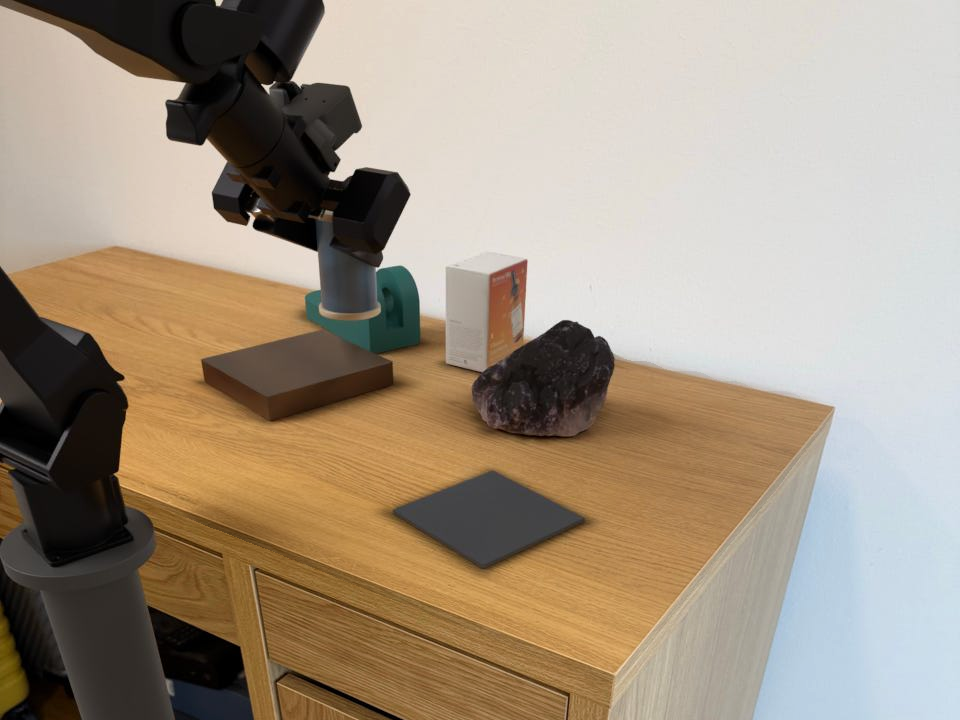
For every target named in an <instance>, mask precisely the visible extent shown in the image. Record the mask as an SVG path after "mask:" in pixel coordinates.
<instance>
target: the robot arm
mask: <svg viewBox="0 0 960 720" xmlns="http://www.w3.org/2000/svg"><path fill="white" fill-rule="evenodd" d="M0 7H3V8H6V9H8V10H11V11H13V12H16V13H19V14H22V15H24V16H27V17H30V18H33V19H35V20H38V21H41V22H44V23H46V24H49V25H52V26H55V27H57V28H60V29H63V30H64V31H66V32H67V33H70V34H71V35H72V36H74V37H76V38H78V39H79V40H81V42H83V43H84V44H85V45H86V46H87V47H88V48H89V49H90V50H92V51H93V52H94V53H95V54H96V55H98V56H100V57H101V58H103V59H105V60H107V61H108V62H110V63H112V64H114V65H115V66H117V67H118V68H121V69H122V70H123V71H126V72H127V73H128V74H131V75H133V76H135V77H138V78H146V79H151V80H152V79H153V80H161V81H167V82H168V81H169V82H175V83H183V84H184V85H183V87H182V89H181V91H180V94H179V95H178V97H177V98H175V99H166V100H165V103H164V105H165V108H166V119H165V120H166V121H165V135H166V138H167V139H168V140H169V141H170V142H171V141H172V142H176V143H183V144H187V145H188V144H189V145H193V146H201V147H202V146H203V145H204V144H205V142H206V141H208V142H209V143H210V144H211V145H212V147H214V149H215V150H216V151H217V152H218V153H219V154H220V156H222V158H223V159H224V160H225V161H226V163H225V165H224V168H223V169H222V171H221V173H220V175H219V177H218V179H217V180H216V183H215V185H214V187H213V189H212V191H211V197H212V199H211V200H212V206H213V209H214V210H215V211H216V212H217V214H218V215H220V216H221V218H222V219H224V220H225V221H226V222H227V223H232V224H236V225H240V226H244V227H248V225H249V223H250V221H251V216H252V217H253V218H254V219H253V222H252V229H253V230H254V231H256V232H259V233H263V234H266V235H269V236H272V237H274V238H276V239H279V240H283V241H285V242H288V243H291V244H294V245H297V246H300V247H302V248H305V249H308V250H311V251H313V252H316V253H318V249H317V236H316V223H315V219H322V217H323V215H324V213H325V210H327V211H332V212H333V213H332V215H333V216H332V223H333V234H334V236H333V238H332V240H331V242H330V244H329V246H330V247H332V248H334V249H336V250H338V251H340V252H342V253H345V254H347V255H349V256H351V257H354V258H356V259H358V260H360V261H362V262H364V263H367V264H369V265H371V266H374V267H376V269H377V268H378V269H380V266H381V265H382V263H383V260H384V255H383V254H384V253H383V251H384V250H385V248H386V247H387V244H388V242H389V240H390V238H391V236H392V234H393V233H394V230H395V228H396V226H397V225H398V221H399V220H400V217H401V215H402V213H403V211H404V210H405V207H406V205H407V204H408V201H409V200H410V197H411V192H410V191H411V190H410V189H409V186H408V185H407V184H406V182H405V180H404V179H403V177H402V176H401V175H400V173H399V172H398V171H392V170H385V169H379V168H374V167H367V166H366V167H365V166H363V167H359V168H355V170H354V171H353V173H352V175H349V176H347V177H346V178H345V179H344V180H337V179H331V178H330V177H329V175H330V174H331V173H336V171H337V168H338V166H339V165H340V163H341V160H342V159H341V158H340V156H339V155H338V154H337V152H336V151H337V150H339V149H340V148H341V147H342V146H343V145H344V144H345V143H346V142H347V141H348V140H349V139H350V138H351V137H352V136H353V135H354V134H358V133H360V131H361V130H362V128H363V125H362V121H361V118H360V115H359V112H358V109H357V108H358V107H357V105H356V103H355V100H354V97H353V94H352V91H351V88H350V86H349V85H348V86H347V85H345V84H344V85H343V84H336V83H326V82H314V83H310V84H308V83H302V84H300V86H299V85H298V84H297V83H296V82H295V81H293V80H292V79H293V77H294V75H295V73H296V71H297V69H298V68H299V65H300V63H301V62H302V59H303V57H304V56H305V54H306V52H307V50H308V48H309V47H310V46H309V45H310V44H311V42H312V40H313V39H314V36H315V34H316V32H317V30H318V28H319V27H320V24H321V22H322V21H323V18H324V16H325V14H326V6H325V3H324V0H222V1H221V3H220V5H217V2H216V0H0ZM264 86H269V87H268V91H269V92H268V91H267V89H266V88H265V87H264ZM125 378H126V377H125V375H124V374H122V373H121V372H119V371H117V370H116V369H115V368H114V367H113V366H112V365H111V364H110V363H109V361H108V360H107V359H106V357H105V354H104V353H103V350H102V349H101V346H100V345H99V343H98V341H97V340H96V339H95V338H94V336H93V335H92V334H91V333H90V332H87V331H84V330H81V329H78V328H76V327H73V326H70V325H66V324H64V323H61V322H58V321H56V320H52V319H48V318H46V317H43V316H39V313H37V311H36V310H35V309H34V308H33V306H32V305H31V304H30V303H29V301H28V300H27V298H26V297H25V296H24V294H23V293H22V292H21V291H20V289H19V288H18V287H17V286H16V284H15V283H14V281H12V279H11V278H10V276H9V275H8V274H7V273H6V271H5V270H4V269H3V267H1V265H0V400H1V402H0V464H5V465H7V466H10V467H11V468H13V469H9V470H8V471H7V475H8V477H9V480H10V483H11V486H12V489H13V492H14V496H15V499H16V502H17V505H18V508H19V511H20V514H21V517H22V520H23V522H24V524H25V527H26V528H25V529H23V530H21V534H22V537H23V538H24V539H25V540H26V541H27V542H28V543H29V545H30V546H31V547H32V548H33V549H34V550H35V551H36V552H37V553H38V554H39V555H40V556H41V557H42V558H43V559H44V560H45V561H46V562H47V564H48V565H49V566H50V567H54V568H55V567H60V566H63V565H66V564H69V563H72V562H74V561H77V560H80V559H83V558H86V557H89V556H92V555H95V554H98V553H100V552H103V551H106V550H109V549H112V548H115V547H118V546H121V545H123V544H126V543H129V542H132V541H133V540H134V537H133V534H132V533H131V532H130V531H129V530H128V529H127V528H126V527H125V526H124V525H126V524H127V523H128V516H127V512H126V508H125V506H126V505H125V501H124V496H123V492H122V488H121V484H120V480H119V477H118V476H117V475H116V473H118V472H119V471H120V462H121V454H122V453H121V452H122V451H121V450H122V440H123V432H124V431H123V429H124V425H125V422H126V421H127V420H126V418H127V411H128V410H129V407H130V404H129V400H128V396H127V395H126V393H125V391H124V389H123V388H122V387H123V386H121V385H120V383H118V382H122V381H124V380H125Z"/></svg>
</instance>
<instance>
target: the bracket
mask: <svg viewBox="0 0 960 720" xmlns="http://www.w3.org/2000/svg"><path fill="white" fill-rule="evenodd" d="M376 283H377V301H378V302H379V303H380V305H381V312H380V314H378V315H377V316H375V317H372V318H369V319H364V320H355V321H343V320H334V319H330V318H326V317H324V316H322V315H321V314H320V312H319V304H320V303H321V302H322V300H321V289H318V290H313V291H310V292H308V293H307V294H305V296H304V304H305V314H306V315H305V316H306V318H307V319H308V320H309V321H310V322H312V323H314V324H316V325H318V326H320V327H321V328H323V329H325V330H326V331H327V332H329V333H331V334H333V335H335V336H338V337H340V338H342V339H344V340H346V341H349V342H351V343H353V344H355V345H357V346H360V347H362V348H364V349H366V350H368V351H371V352H373V353H375V354H379V353H384V352H387V351H392V350H398V349H402V348H407V347H411V346H416V345H420V344H421V308H420V307H421V305H420V304H421V302H420V295H419V289H418V286H417V283H416V281H415V278H414V277H413V274H412V273H411V272H410V270H409V269H408V268H406V267H405V266H403V265H394V266H388V267H382V268H378V269H377V270H376Z"/></svg>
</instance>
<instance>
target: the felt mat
mask: <svg viewBox="0 0 960 720" xmlns="http://www.w3.org/2000/svg"><path fill="white" fill-rule="evenodd" d="M392 514H393V515H395V516H396V517H398V518H400V519H401V520H402V521H404V522H406V523H407V524H410V526H412V527H414V528H415V529H417V530H419V531H421V532H422V533H424V534H426V535H427V536H429V537H430V538H432V539H434V540H435V541H437V542H439V543H440V544H441V545H443V546H445V547H446V548H448V549H450V550H451V551H453V552H455V553H456V554H458V555H459V556H461V557H463V558H464V559H466V560H467V561H469V562H471V563H472V564H474V565H476V566H478V567H479V568H481V569H482V570H484V569H487V568H488V567H489V568H490V567H491V566H493V565H496V564H498V563H499V562H502V561H504V560H506V559H508V558H510V557H512V556H514V555H517V554H519V553H521V552H523V551H525V550H527V549H529V548H532V547H534V546H536V545H538V544H540V543H543V542H544V541H547V540H548V539H551V538H553V537H555V536H557V535H560V534H561V533H563V532H566V531H568V530H570V529H572V528H574V527H577V526H579V525H581V524H583V523H585V521H586V520H585V519H586V518H585V517H584V516H582V515H581V514H578V513H576V512H574V511H573V510H570V509H569V508H567V507H565V506H563V505H561V504H559V503H557V502H556V501H553V500H551V499H549V498H548V497H545V496H544V495H542V494H540V493H538V492H536V491H534V490H532V489H530V488H528V487H526V486H524V485H522V484H520V483H518V482H516V481H515V480H512V479H511V478H508V477H506V476H504V475H503V474H501V473H500V472H499V473H498V472H497V471H495V470H490V471H487V472H485V473H482V474H480V475H477V476H474V477H472V478H470V479H467V480H464V481H462V482H459V483H457V484H453V485H451V486H449V487H447V488H444V489H441V490H439V491H436V492H433V493H430V494H429V495H426V496H423V497H420V498H418V499H416V500H413V501H411V502H408V503H405V504H403V505H401V506H397V507H395V508H393V509H392Z"/></svg>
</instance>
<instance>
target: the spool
mask: <svg viewBox="0 0 960 720" xmlns="http://www.w3.org/2000/svg"><path fill="white" fill-rule="evenodd" d="M332 213H333V212H332V211H327V210H325V213H324V215H323V217H322V219H315V223H316V236H317V249H318V252H317V260H318V273H319V286H320V290H321V300H322V302H321V303H320V304H319V312H320V314H321V315H322V316H324V317H326V318H330V319H334V320H343V321H355V320H364V319H369V318H372V317H375V316H377V315H378V314H380V312H381V305H380V303H379V302H378V301H377V283H376V272H377V267H374V266H371V265H369V264H367V263H364V262H362V261H360V260H358V259H356V258H354V257H351V256H349V255H347V254H345V253H342V252H340V251H338V250H336V249H334V248H332V247H330V246H329V244H330V242H331V240H332V238H333V236H334V234H333V223H332V216H333V215H332Z"/></svg>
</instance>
